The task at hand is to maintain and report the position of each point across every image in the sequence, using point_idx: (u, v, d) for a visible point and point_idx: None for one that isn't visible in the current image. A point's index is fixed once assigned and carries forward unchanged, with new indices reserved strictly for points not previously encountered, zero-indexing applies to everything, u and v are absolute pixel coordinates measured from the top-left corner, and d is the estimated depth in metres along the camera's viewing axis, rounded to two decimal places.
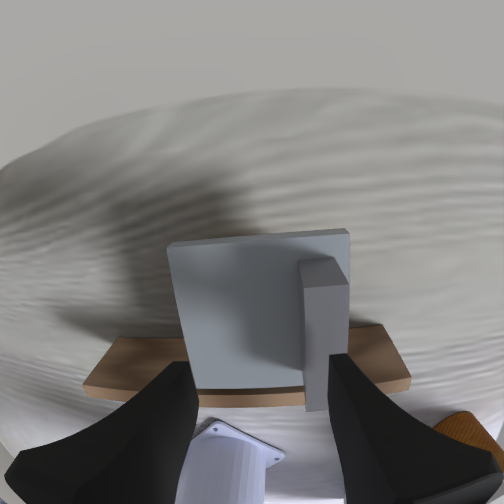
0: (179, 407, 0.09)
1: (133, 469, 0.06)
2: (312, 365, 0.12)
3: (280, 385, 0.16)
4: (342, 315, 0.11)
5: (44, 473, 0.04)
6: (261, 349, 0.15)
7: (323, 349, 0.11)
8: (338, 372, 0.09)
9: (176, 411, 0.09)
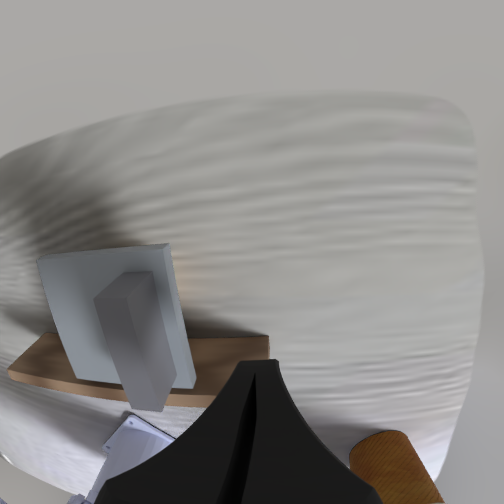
0: (254, 408, 0.09)
1: (235, 480, 0.05)
2: (119, 366, 0.12)
3: None
4: (128, 326, 0.12)
5: None
6: None
7: (122, 353, 0.12)
8: (256, 378, 0.09)
9: (253, 412, 0.09)
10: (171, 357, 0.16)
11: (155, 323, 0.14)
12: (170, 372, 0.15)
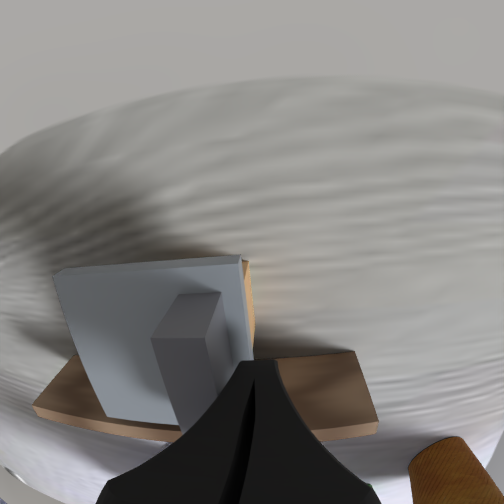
0: None
1: (236, 480, 0.05)
2: (183, 420, 0.09)
3: None
4: (204, 372, 0.09)
5: None
6: (158, 386, 0.13)
7: (191, 405, 0.09)
8: (255, 378, 0.09)
9: (254, 412, 0.09)
10: None
11: (226, 360, 0.11)
12: None
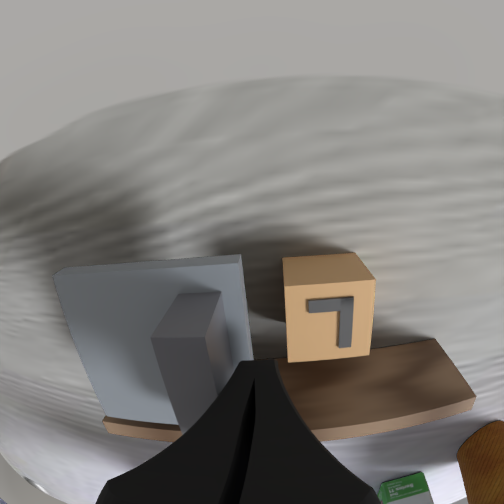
0: (255, 408, 0.09)
1: (236, 480, 0.05)
2: (183, 419, 0.09)
3: None
4: (204, 372, 0.09)
5: None
6: (157, 386, 0.13)
7: (190, 404, 0.09)
8: (255, 378, 0.09)
9: (254, 412, 0.09)
10: None
11: (226, 359, 0.11)
12: None
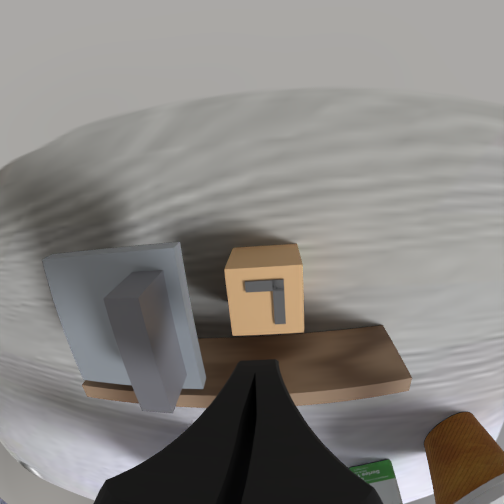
0: (254, 408, 0.09)
1: (235, 480, 0.05)
2: (130, 367, 0.12)
3: None
4: (140, 326, 0.12)
5: None
6: None
7: (133, 354, 0.12)
8: (256, 378, 0.09)
9: (253, 412, 0.09)
10: (181, 357, 0.15)
11: (166, 323, 0.14)
12: (180, 372, 0.15)
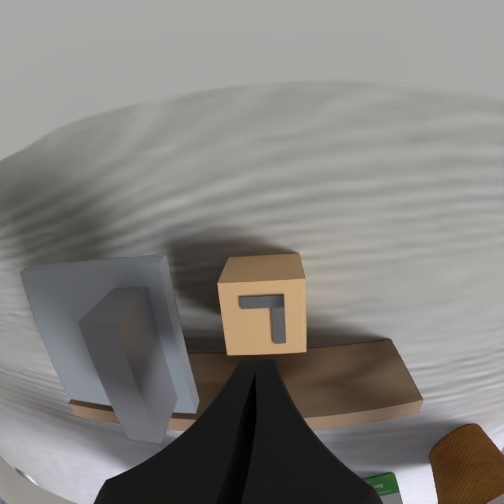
0: (254, 408, 0.09)
1: (235, 480, 0.05)
2: (112, 396, 0.10)
3: None
4: (120, 353, 0.10)
5: None
6: None
7: (115, 383, 0.10)
8: (256, 378, 0.09)
9: (253, 412, 0.09)
10: (171, 381, 0.14)
11: (151, 346, 0.12)
12: (170, 398, 0.13)
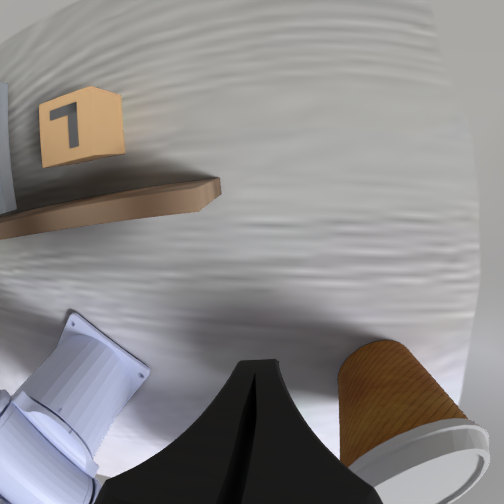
0: (254, 408, 0.09)
1: (235, 480, 0.05)
2: None
3: None
4: None
5: None
6: None
7: None
8: (256, 378, 0.09)
9: (253, 412, 0.09)
10: None
11: None
12: None
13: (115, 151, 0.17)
